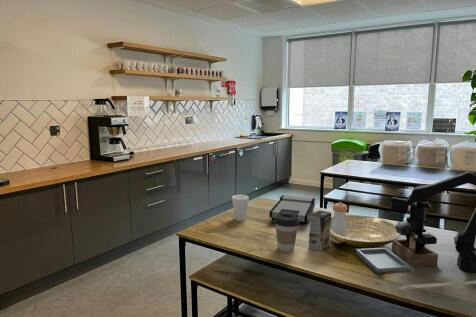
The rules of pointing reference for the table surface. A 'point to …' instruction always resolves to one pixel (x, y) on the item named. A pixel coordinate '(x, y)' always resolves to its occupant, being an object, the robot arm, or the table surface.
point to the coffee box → (319, 230)
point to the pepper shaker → (339, 220)
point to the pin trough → (416, 260)
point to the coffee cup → (286, 231)
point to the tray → (382, 260)
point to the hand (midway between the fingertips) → (413, 251)
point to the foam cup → (240, 206)
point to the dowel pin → (412, 243)
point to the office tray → (294, 208)
